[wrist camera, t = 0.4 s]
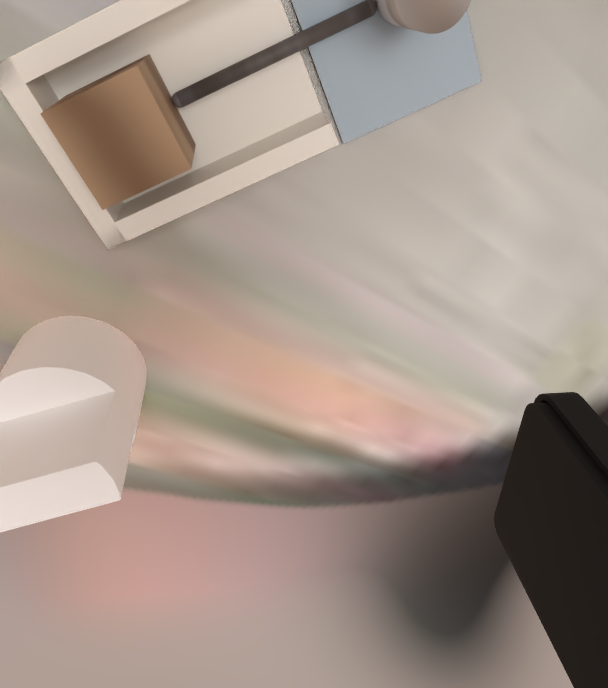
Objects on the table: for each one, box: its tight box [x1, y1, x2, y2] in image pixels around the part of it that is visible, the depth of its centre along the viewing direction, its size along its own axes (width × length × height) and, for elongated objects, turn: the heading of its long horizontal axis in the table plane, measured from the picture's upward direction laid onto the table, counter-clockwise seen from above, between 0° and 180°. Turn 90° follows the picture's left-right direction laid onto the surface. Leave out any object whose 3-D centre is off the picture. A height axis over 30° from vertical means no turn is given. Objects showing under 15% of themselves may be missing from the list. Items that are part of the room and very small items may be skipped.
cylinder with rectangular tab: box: [0, 316, 147, 532], centre depth 35 cm, size 9×9×12 cm
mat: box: [291, 0, 482, 144], centre depth 30 cm, size 8×12×1 cm
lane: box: [0, 0, 339, 250], centre depth 30 cm, size 14×10×4 cm
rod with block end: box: [40, 0, 470, 210], centre depth 28 cm, size 20×5×6 cm, turn 113°
